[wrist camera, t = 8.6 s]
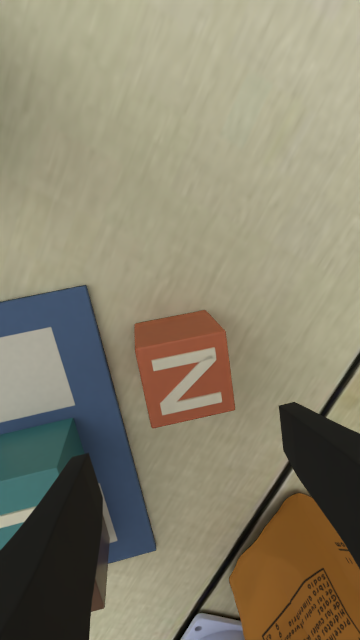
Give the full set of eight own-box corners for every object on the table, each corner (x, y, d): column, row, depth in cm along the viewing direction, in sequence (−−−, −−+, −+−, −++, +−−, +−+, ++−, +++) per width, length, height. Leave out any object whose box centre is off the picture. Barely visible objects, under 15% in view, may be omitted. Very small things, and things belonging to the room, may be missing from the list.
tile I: (91, 474, 19) (81, 538, 15) (23, 492, 19) (-7, 561, 15) (73, 417, 18) (56, 469, 14) (-1, 434, 17) (-39, 492, 14)
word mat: (156, 545, 22) (156, 551, 21) (20, 582, 21) (17, 589, 20) (86, 284, 16) (85, 286, 16) (-98, 321, 16) (-104, 323, 15)
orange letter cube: (215, 374, 19) (236, 411, 15) (147, 388, 18) (151, 430, 15) (205, 309, 18) (226, 331, 14) (134, 323, 17) (134, 349, 13)
